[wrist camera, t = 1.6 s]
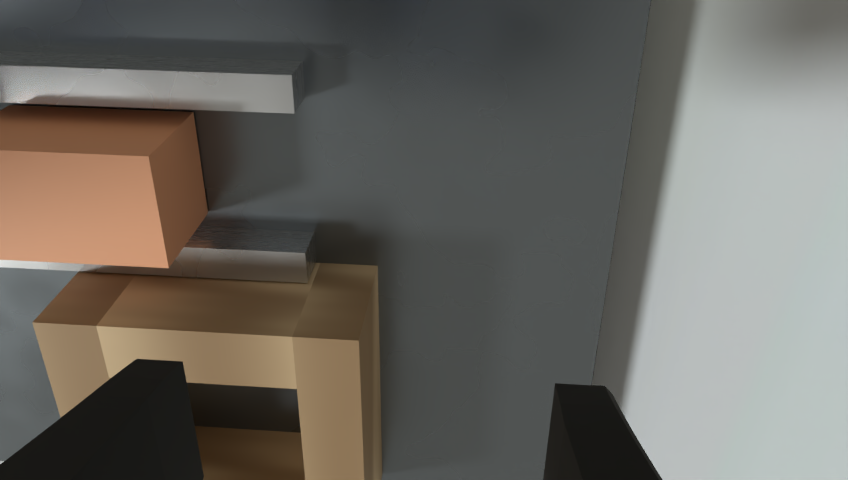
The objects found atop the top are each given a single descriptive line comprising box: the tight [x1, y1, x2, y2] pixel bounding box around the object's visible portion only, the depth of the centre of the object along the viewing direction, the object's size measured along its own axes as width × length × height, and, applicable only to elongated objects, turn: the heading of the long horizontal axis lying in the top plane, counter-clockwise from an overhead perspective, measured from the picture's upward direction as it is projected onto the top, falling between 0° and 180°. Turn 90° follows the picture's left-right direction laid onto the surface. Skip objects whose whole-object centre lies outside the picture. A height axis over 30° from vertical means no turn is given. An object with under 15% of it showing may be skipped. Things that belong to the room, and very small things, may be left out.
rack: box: [32, 263, 382, 480], centre depth 19 cm, size 7×7×3 cm
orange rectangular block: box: [0, 105, 208, 268], centre depth 16 cm, size 4×2×2 cm, turn 90°
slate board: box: [0, 0, 651, 480], centre depth 18 cm, size 22×17×3 cm
